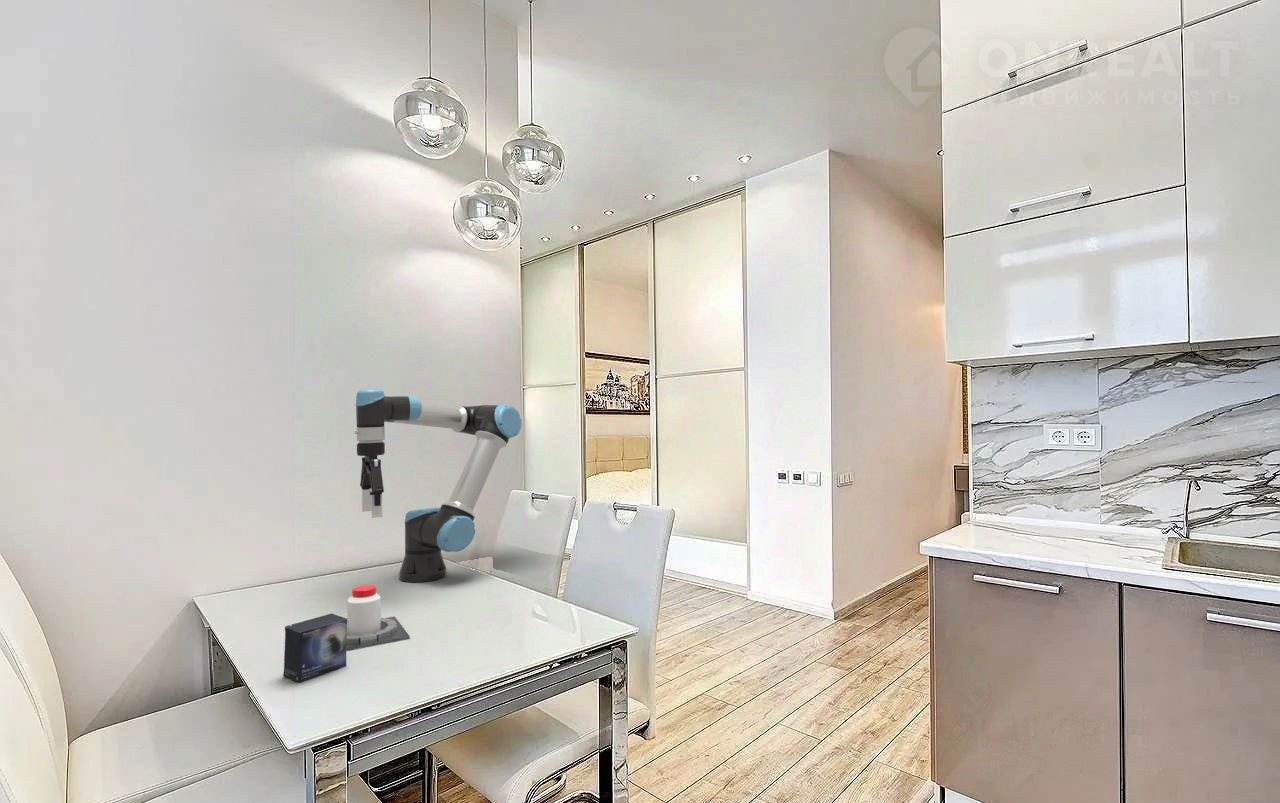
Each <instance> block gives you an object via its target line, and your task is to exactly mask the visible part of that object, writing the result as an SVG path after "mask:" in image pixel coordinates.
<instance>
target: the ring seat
mask: <svg viewBox="0 0 1280 803" xmlns="http://www.w3.org/2000/svg"><path fill="white" fill-rule="evenodd" d="M410 638H411V637H410V635H409V633H408V632H407V630H405V628H404V627H403V625H402V624H401V623H400V622H399V620H398V619H397V618H396V616H395V615H394V616H390V617H389V616H388V617H381V631H378V632H375V633H371V634H366V635H358V636H347V651H352V650H357V649H361V648H362V649H363V648H368V647H373V646H379V645H384V644H389V643H393V642H399V641H404V640H409V639H410Z"/></svg>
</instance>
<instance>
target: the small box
mask: <svg viewBox="0 0 1280 803" xmlns="http://www.w3.org/2000/svg"><path fill="white" fill-rule="evenodd" d="M347 653H348V652H347V617H343V616H341V615H339V614H338V615H337V614H334V613H329V614H328V613H327V614H325V615H321V616H317V617H314V618H311V619H310V618H309V619H307V620H304V621H303V620H302V621H299V622H297V623H293V624H289V625H285V626H284V654H283V655H284V656H283V657H284V658H283V662H284V663H283V674H282V676H283V677H285V678H287V679H290V680H292V681H295V682H297V683H302V682H305V681H307V680H309V679H313V678H315V677H318V676H322V675H323V674H325V675H326V674H328V673H330V672H332V671H336V670H338V669H341V668H344V667H347Z"/></svg>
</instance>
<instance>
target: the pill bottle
mask: <svg viewBox="0 0 1280 803" xmlns="http://www.w3.org/2000/svg"><path fill="white" fill-rule="evenodd" d="M346 618H347V636H358V635H366V634H371V633H375V632H378V631H381V618H382V597H381V595H380V594H379V593H378V592H377V585H374V584H365V585H363V584H362V585H357V586H355V587H353V588H352V589H351V595H350V596H349V597H348V598H347V600H346Z"/></svg>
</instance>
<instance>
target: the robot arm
mask: <svg viewBox="0 0 1280 803" xmlns="http://www.w3.org/2000/svg"><path fill="white" fill-rule="evenodd" d="M355 406H356V407H355V413H356V415H355V416H356V417H355V418H356V431H355V430H354V434H355V435H356V441H357V442H358V443H357V444H356V455H357V456H359V457H361V472H360V473H361V474H360V483H359V486H360V487H361V511H362V513H363V512H371V518H372V519H374V518H376V519H377V518H383V493H384V491H385V488H384V482H383V481H384V480H383V474H382V473H383V472H382V462H381V461H382V459H380V458H378V456H384V455H385V453H386V447H385V444H386V443H385V442H383V441H385V440H386V435H385V434H386V433H385V432H386V431H385V428H386V427H385V423H397V424H405V425H412V426H413V425H415V426H423V427H424V426H425V427H434V428H443V429H451V431H453V432H455V433H462V434H467V435H471V436H475V437H476V442H475V444H474V446H473V448H472V450H471V453H470V454H469V457H468V458H467V461H466V463H465V464H464V467H463V469H462V472H461V474H460V476H459V478H458V480H457V482H456V485H455V487H454V489H453V491H452V492H451V495H450V498H449V499H448V501H446V502H443V503H442V504H441V505H440V507H430V508H420V509H413V510H409V511H407V512H406V514H405V517H404V518H405V519H404V557H403V560H402V563H401V566H400V569H399V574H398V576H399V577H398V578H399V580H400V581H402V582H406V583H423V582H424V583H425V582H430V581H431V582H432V581H435V580H436V581H437V580H439V579H443V578H445V577H446V576H447V567H446V563H445V560H444V557H443V554H442V551H443V552H446V553H447V552H449V553H450V552H451V553H453V552H454V553H457V552H460V551H462V550H465V549H466V548H468V547H469V546H470V544H471V543H472V542H473V540H474V538H475V534H476V529H475V527H476V525H475V523H474V520H475V519H476V518H475V517H476V516H475V514H474V508H475V506H476V504H477V502H478V500H479V497H480V495H481V493H482V491H483V488H484V487H485V485H486V482H487V479H488V477H489V475H490V472H491V470H492V468H493V466H494V464H495V461H496V459H497V456H498V454H499V452H500V450H501V449H503V448H506V447H507V444H508V442H509V440H510V439H512V438H515V437H516V436H517V435H518V434H519V433H520V431H521V429H522V418H521V414H520V412H519V411H518V410H517V409H516V408H515V407H514V406H512V405H510V404H504V403H499V404H482V405H471V406H469V405H467V406H466V405H464V406H463V405H457V406H455V407H451V406H445V405H443V406H442V405H435V404H428V403H422V401H420V399H419V398H418V397H416V396H411V395H405V396H403V395H402V396H399V395H398V396H396V395H395V396H388V395H387V396H386V395H385V392H384V390H383V389H372V388H371V389H369V388H368V389H367V388H366V389H360V390H358V391H357V392H356V397H355Z"/></svg>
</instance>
